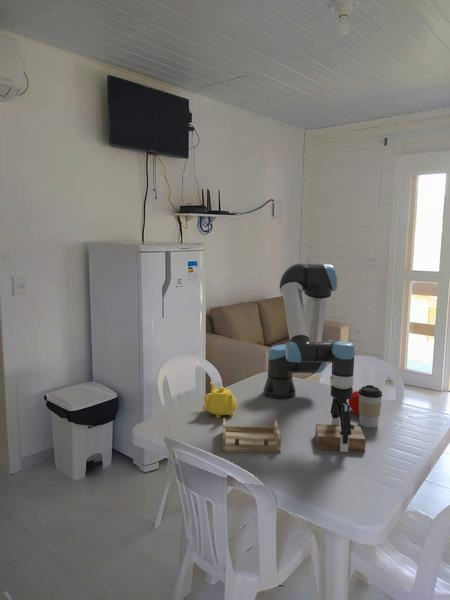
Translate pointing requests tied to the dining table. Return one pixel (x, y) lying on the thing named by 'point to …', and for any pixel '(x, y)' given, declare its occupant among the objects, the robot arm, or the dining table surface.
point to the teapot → (220, 401)
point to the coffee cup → (369, 405)
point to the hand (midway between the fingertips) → (339, 442)
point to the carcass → (251, 438)
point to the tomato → (354, 402)
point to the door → (331, 437)
